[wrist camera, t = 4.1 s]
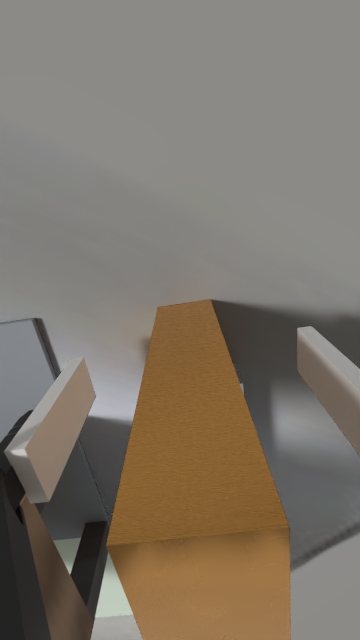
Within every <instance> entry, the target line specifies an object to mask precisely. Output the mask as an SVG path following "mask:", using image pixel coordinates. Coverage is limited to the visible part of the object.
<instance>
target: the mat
mask: <svg viewBox="0 0 360 640" xmlns="http://www.w3.org/2000/svg"><path fill="white" fill-rule="evenodd" d="M56 379H57V377H56V375H55V372H54V369H53V367H52V364H51V361H50V359H49V356H48V353H47V350H46V348H45V345H44V342H43V340H42V337H41V334H40V331H39V329H38V326H37V323H36V321H35V318H31V319H24V320H17V321H10V322H3V323H0V443H1V441H2V440H3V439H4V437H5V436H7V434H8V432H9V431H10V430H11V429H12V428H13V426H14V424H15V423H16V422H17V421H18V419H19V418H20V417H21V416H23V415H24V414H25V413H26V412H28V411H29V410H34V409H35V408H36V406H37V405H38V404H39V402H40V401H41V400H42V398H43V397H44V395H45V394H46V393H47V391H48V390H49V388H50V387H51V386H52V384H53V383H54V382H55V380H56ZM40 516H41V518H42V520H43V522H44V524H45V526H46V528H47V530H48V532H49V534H50V536H51V538H52V540H53V542H54V544H55V546H56V548H57V550H58V552H59V554H60V556H61V558H62V560H63V562H64V564H65V566H66V568H67V570H68V572H69V574H70V573H71V570H72V567H73V563H74V560H75V557H76V553H77V550H78V547H79V543H80V540H81V537H82V533H83V530H84V526H85V523H89V522H99V521H107V523H108V525H109V528H110V525H111V524H110V521H109V518H108V515H107V513H106V510H105V507H104V505H103V502H102V499H101V496H100V494H99V491H98V488H97V486H96V483H95V480H94V478H93V475H92V472H91V469H90V467H89V464H88V461H87V459H86V456H85V453H84V450H83V448H82V445H81V442H80V440H79V437H78V438H77V440H76V443H75V445H74V447H73V449H72V452H71V454H70V456H69V458H68V461H67V463H66V465H65V467H64V470H63V472H62V474H61V476H60V479H59V481H58V483H57V485H56V488H55V490H54V492H53V494H52V497H51V499H50V501H49V502H46V503H45V505H44V508H43V510H42V512H41V514H40ZM121 615H133V612H132V610H131V607H130V605H129V602H128V600H127V597H126V595H125V592H124V590H123V587H122V585H121V582H120V580H119V577H118V575H117V572H116V570H115V567H114V565H113V562H112V560H111V557H110V554H109V552H108V556H107V561H106V566H105V571H104V576H103V581H102V585H101V590H100V595H99V600H98V605H97V610H96V615H95V618H98V617H110V616H121Z"/></svg>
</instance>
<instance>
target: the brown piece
mask: <svg viewBox="0 0 360 640" xmlns="http://www.w3.org/2000/svg"><path fill="white" fill-rule="evenodd" d="M106 547H107V549H108V552H109V554H110V557H111V560H112V562H113V565H114V567H115V570H116V572H117V575H118V577H119V580H120V582H121V585H122V587H123V590H124V592H125V595H126V597H127V600H128V602H129V605H130V607H131V610H132V612H133V615H134V618H135V620H136V623H137V625H138V628H139V630H140V633H141V635H142V638H143V640H291V627H290V626H291V619H290V527H289V524H288V521H287V518H286V515H285V512H284V509H283V506H282V504H281V501H280V498H279V495H278V492H277V489H276V486H275V483H274V481H273V478H272V475H271V472H270V469H269V466H268V463H267V460H266V458H265V455H264V452H263V449H262V446H261V443H260V440H259V437H258V435H257V432H256V429H255V426H254V423H253V420H252V417H251V414H250V412H249V409H248V406H247V403H246V400H245V397H244V389H243V382H242V379H241V376H240V374H239V371H238V368H237V366H236V363H232V360H231V357H230V354H229V351H228V348H227V345H226V342H225V340H224V337H223V334H222V331H221V328H220V325H219V322H218V319H217V317H216V314H215V311H214V308H213V305H212V302H211V300H204V301H197V302H190V303H183V304H176V305H170V306H163V307H158V308H157V313H156V317H155V322H154V327H153V331H152V336H151V341H150V345H149V350H148V354H147V359H146V364H145V368H144V373H143V377H142V382H141V387H140V391H139V396H138V401H137V405H136V410H135V414H134V419H133V424H132V428H131V433H130V437H129V442H128V447H127V451H126V456H125V461H124V465H123V470H122V474H121V479H120V484H119V488H118V493H117V497H116V502H115V507H114V511H113V516H112V521H111V525H110V530H109V534H108V539H107V544H106Z"/></svg>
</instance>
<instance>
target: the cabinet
mask: <svg viewBox="0 0 360 640" xmlns="http://www.w3.org/2000/svg"><path fill="white" fill-rule="evenodd" d="M45 503H46V502H42V503H33V504H30V502H29V500H28V498H27V496H26V494H25V495H24V497H23V498H22V500H21V502H20V505H21V507H22V509H23V512H24V516H25V521H26V526H27V530H28V535H29V539H30V544H31V548H32V553H33V558H34V562H35V567H36V571H37V576H38V580H39V585H40V590H41V594H42V599H43V603H44V608H45V612H46V617H47V622H48V626H49V631H50V635H51V640H90V639H91V634H92V629H93V624H94V620H95V615H96V610H97V605H98V600H99V595H100V590H101V585H102V581H103V576H104V571H105V566H106V561H107V556H108V549H107V547H106V544H107V539H108V534H109V530H110V528H109V525H108V523H107V521H99V522H89V523H85V526H84V530H83V533H82V537H81V540H80V543H79V547H78V550H77V553H76V557H75V560H74V563H73V567H72V570H71V573H70V574H69V572H68V570H67V568H66V566H65V564H64V562H63V560H62V558H61V556H60V554H59V552H58V550H57V548H56V546H55V544H54V542H53V540H52V538H51V536H50V534H49V532H48V530H47V528H46V526H45V524H44V522H43V520H42V518H41V516H40V514H41V512H42V510H43V508H44V505H45Z"/></svg>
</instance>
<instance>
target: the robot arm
mask: <svg viewBox="0 0 360 640" xmlns="http://www.w3.org/2000/svg"><path fill="white" fill-rule="evenodd" d="M297 371H298V372H299V374H300V375H301V376H302V378H303V379H304V381H305V382H306V383H307V385H308V386H309V387H310V389H311V390H312V391H313V393H314V394H315V396H316V397H317V398H318V400H319V401H320V402H321V404H322V405H323V407H324V408H325V409H326V411H327V412H328V413H329V415H330V416H331V417H332V419H333V420H334V422H335V423H336V424H337V426H338V427H339V428H340V430H341V431H342V433H343V434H344V435H345V437H346V438H347V439H348V441H349V442H350V443H351V445H352V446H353V448H354V449H355V450H356V452H357V453H358V454H359V456H360V367H357V366H356V365H355V364H354V363H352V362H351V361H350V360H349V359H348V358H347V357H346V356H344V355H343V354H342V353H341V352H340V351H339V350H338V349H337V348H335V347H334V346H333V345H332V344H331V343H330V342H329V341H328V340H326V339H325V338H324V337H323V336H322V335H321V334H320V333H319V332H317V331H316V330H315V329H314V328H313V327H312V326H308V327H301V328H297ZM95 398H96V395H95V391H94V388H93V385H92V382H91V379H90V376H89V373H88V369H87V366H86V363H85V360H84V357H82V358H74V359H70V361H69V362H68V364H67V365H66V366H65V368H64V369H63V370H62V372H61V373H60V375H59V376H58V377H57V379H56V380H55V382H54V383H53V384H52V386H51V387H50V388H49V390H48V391H47V393H46V394H45V395H44V397H43V398H42V400H41V401H40V402H39V404H38V405H37V406H36V408H35V409H34V410H29V411H28V412H26V413H25V414H24V415H23V416H21V417H20V418H19V419H18V421H17V422H16V423H15V424H14V426H13V428H12V429H11V430H10V431H9V432H8V434H7V436H5V437H4V439H3V440H2V441H1V443H0V640H51V635H50V631H49V626H48V622H47V617H46V612H45V608H44V603H43V599H42V594H41V590H40V585H39V580H38V576H37V571H36V567H35V562H34V558H33V553H32V548H31V544H30V539H29V535H28V530H27V526H26V521H25V516H24V512H23V509H22V507H21V505H20V502H21V500H22V498H23V497H24V495H25V494H26V496H27V498H28V500H29V502H30V504H33V503H42V502H49V501H50V499H51V497H52V494H53V492H54V490H55V488H56V485H57V483H58V481H59V479H60V476H61V474H62V472H63V470H64V467H65V465H66V463H67V461H68V458H69V456H70V454H71V452H72V449H73V447H74V445H75V443H76V440H77V438H78V436H79V434H80V431H81V429H82V427H83V425H84V422H85V420H86V418H87V416H88V413H89V411H90V409H91V407H92V404H93V402H94V400H95Z"/></svg>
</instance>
